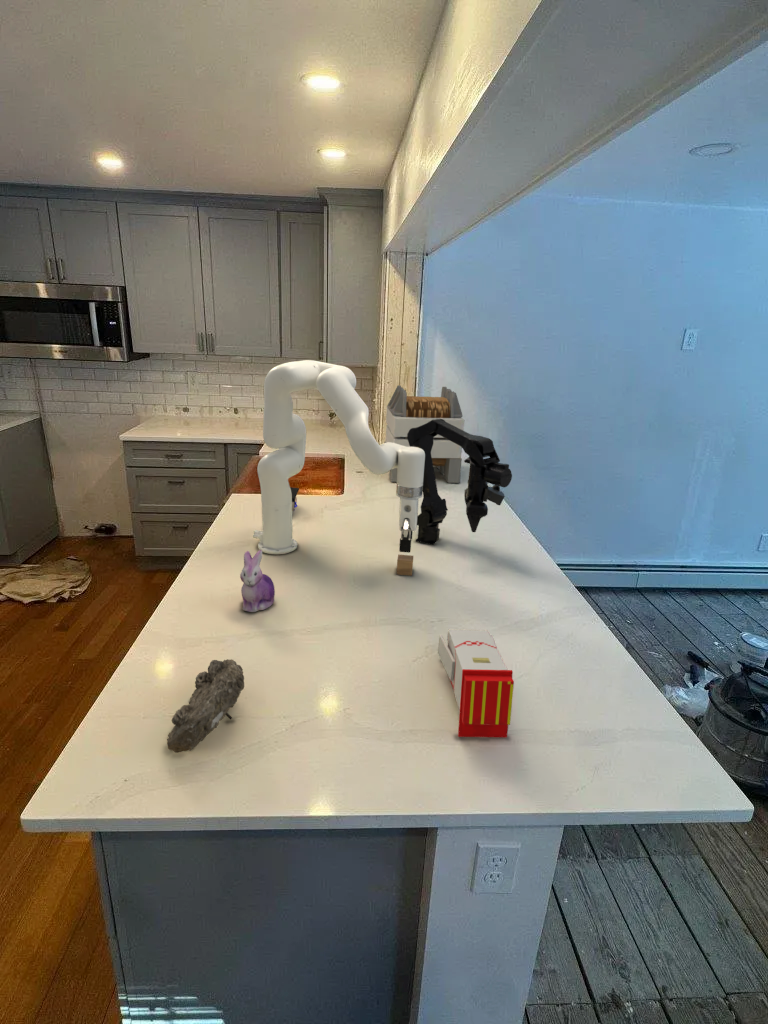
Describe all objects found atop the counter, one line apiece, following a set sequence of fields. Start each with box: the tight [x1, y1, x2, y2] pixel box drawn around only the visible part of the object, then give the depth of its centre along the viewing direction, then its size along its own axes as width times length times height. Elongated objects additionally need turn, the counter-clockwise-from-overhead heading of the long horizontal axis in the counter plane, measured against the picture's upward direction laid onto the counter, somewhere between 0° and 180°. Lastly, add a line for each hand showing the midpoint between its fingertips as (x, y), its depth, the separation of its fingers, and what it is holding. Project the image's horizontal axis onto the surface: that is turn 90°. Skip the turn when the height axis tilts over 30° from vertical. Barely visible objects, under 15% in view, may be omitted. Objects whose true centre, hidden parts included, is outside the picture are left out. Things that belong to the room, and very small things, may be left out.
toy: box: [437, 628, 515, 738], centre depth 117 cm, size 12×13×30 cm
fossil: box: [166, 658, 245, 754], centre depth 106 cm, size 22×10×15 cm
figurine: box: [239, 549, 276, 613], centre depth 146 cm, size 9×10×15 cm
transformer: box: [383, 384, 465, 484], centre depth 268 cm, size 34×33×41 cm
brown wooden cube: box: [396, 554, 414, 577], centre depth 170 cm, size 4×5×5 cm
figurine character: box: [290, 486, 300, 512], centre depth 216 cm, size 7×8×15 cm
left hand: (405, 545), depth 168 cm, fingers open, 9 cm apart
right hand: (472, 526), depth 179 cm, fingers open, 9 cm apart
